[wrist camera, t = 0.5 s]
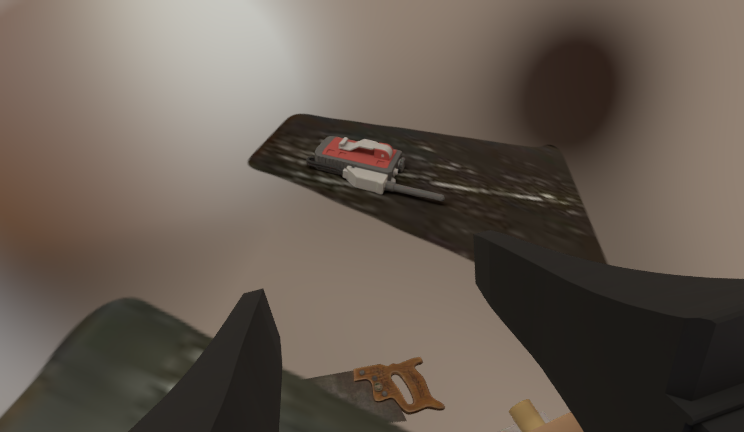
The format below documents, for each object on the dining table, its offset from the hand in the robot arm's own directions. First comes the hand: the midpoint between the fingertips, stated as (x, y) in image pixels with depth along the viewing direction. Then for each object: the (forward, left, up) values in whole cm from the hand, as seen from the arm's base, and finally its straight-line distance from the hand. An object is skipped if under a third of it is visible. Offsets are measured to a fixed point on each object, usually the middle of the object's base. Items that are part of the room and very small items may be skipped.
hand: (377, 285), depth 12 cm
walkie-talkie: (+33, -15, -19) cm, 41 cm away
